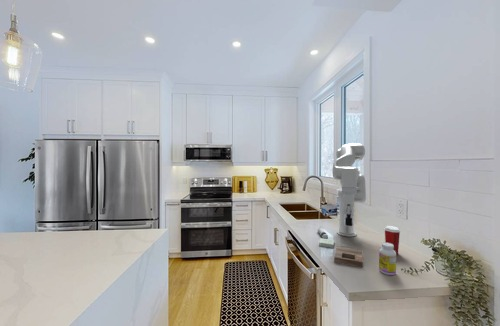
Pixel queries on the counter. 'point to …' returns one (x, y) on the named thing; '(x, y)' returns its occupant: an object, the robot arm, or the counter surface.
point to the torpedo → (322, 233)
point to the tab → (327, 243)
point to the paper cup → (392, 236)
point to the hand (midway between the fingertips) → (348, 223)
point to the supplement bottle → (387, 259)
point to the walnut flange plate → (348, 256)
